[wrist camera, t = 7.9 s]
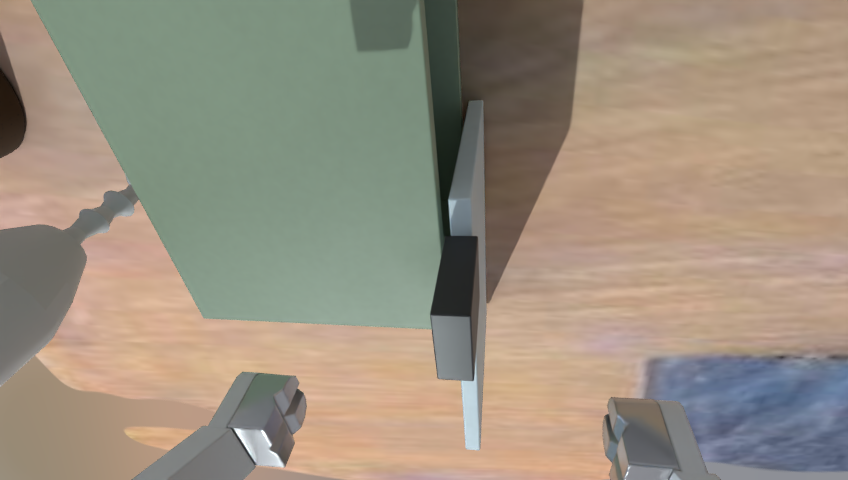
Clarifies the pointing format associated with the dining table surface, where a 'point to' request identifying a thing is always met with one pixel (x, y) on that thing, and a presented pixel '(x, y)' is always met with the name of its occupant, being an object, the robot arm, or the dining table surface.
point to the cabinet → (281, 145)
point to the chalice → (45, 277)
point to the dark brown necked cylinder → (10, 119)
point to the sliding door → (464, 278)
